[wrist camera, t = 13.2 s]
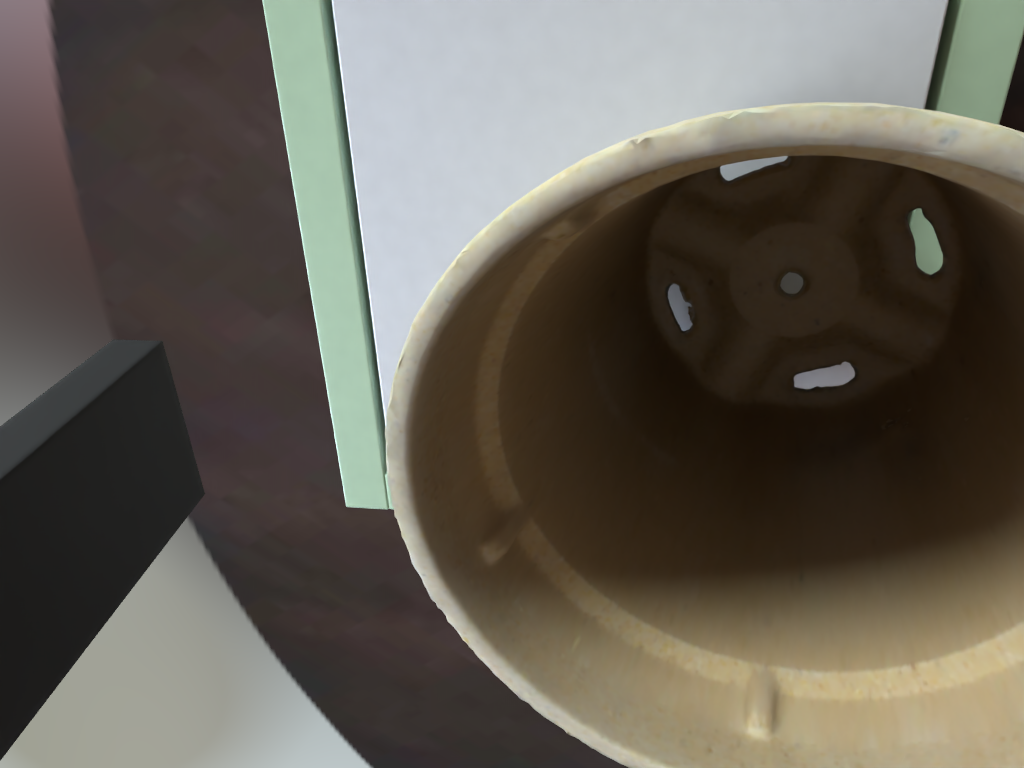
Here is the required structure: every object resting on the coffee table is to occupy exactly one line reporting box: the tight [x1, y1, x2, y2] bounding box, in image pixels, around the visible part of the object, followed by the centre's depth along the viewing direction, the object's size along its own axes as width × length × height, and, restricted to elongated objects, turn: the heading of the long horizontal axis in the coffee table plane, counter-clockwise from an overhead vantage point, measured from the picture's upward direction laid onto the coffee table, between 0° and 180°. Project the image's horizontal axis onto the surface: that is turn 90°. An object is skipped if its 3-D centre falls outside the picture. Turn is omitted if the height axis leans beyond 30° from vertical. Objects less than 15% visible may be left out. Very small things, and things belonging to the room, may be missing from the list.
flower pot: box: [385, 102, 1024, 768], centre depth 12 cm, size 9×9×9 cm
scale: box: [263, 0, 1024, 509], centre depth 18 cm, size 15×14×4 cm
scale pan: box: [332, 0, 949, 425], centre depth 17 cm, size 11×11×2 cm
